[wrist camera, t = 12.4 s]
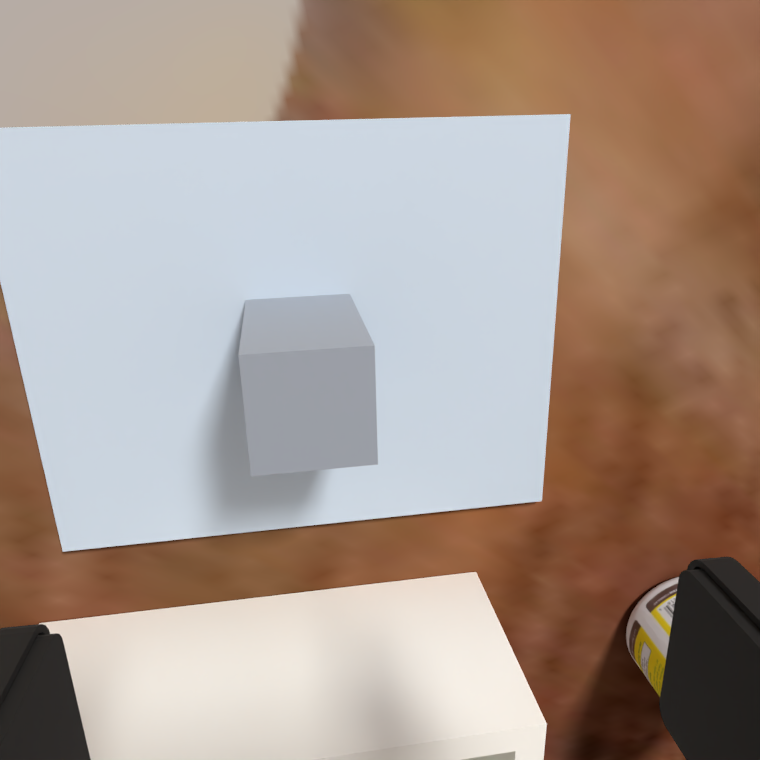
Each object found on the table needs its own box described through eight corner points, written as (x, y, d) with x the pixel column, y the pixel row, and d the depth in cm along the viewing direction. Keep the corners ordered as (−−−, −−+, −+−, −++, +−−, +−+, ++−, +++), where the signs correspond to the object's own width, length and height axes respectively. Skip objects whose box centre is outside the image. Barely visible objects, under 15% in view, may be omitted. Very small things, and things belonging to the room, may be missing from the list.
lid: (558, 114, 23) (669, 110, 17) (533, 488, 29) (609, 594, 22) (-22, 128, 21) (-153, 129, 14) (69, 536, 26) (4, 671, 20)
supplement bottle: (677, 677, 33) (839, 895, 24) (597, 639, 32) (738, 858, 22) (751, 594, 32) (952, 790, 23) (672, 550, 30) (855, 742, 21)
